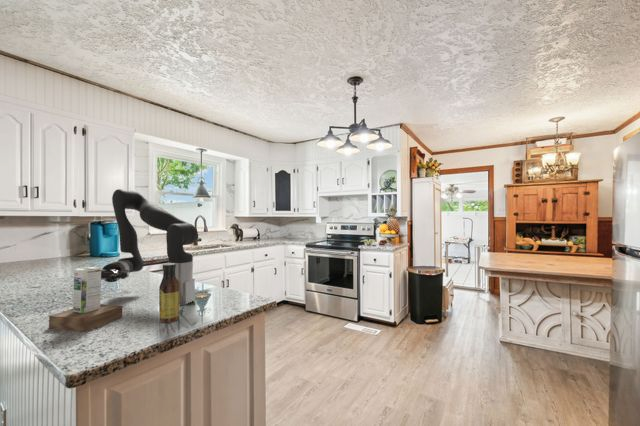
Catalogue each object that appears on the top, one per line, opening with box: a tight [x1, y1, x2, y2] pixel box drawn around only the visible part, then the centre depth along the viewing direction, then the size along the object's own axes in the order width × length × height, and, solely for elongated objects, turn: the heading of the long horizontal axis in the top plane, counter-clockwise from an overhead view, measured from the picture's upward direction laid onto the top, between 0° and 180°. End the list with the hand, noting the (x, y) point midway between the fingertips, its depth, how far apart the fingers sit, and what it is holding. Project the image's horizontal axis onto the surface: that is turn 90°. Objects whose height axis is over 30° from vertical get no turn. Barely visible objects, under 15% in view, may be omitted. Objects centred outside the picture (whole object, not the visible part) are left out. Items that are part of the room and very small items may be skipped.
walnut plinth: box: [48, 303, 123, 332], centre depth 102 cm, size 14×14×4 cm
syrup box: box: [72, 266, 102, 314], centre depth 102 cm, size 6×6×14 cm
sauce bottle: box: [158, 262, 180, 323], centre depth 104 cm, size 6×6×20 cm
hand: (97, 278), depth 108 cm, fingers open, 8 cm apart
